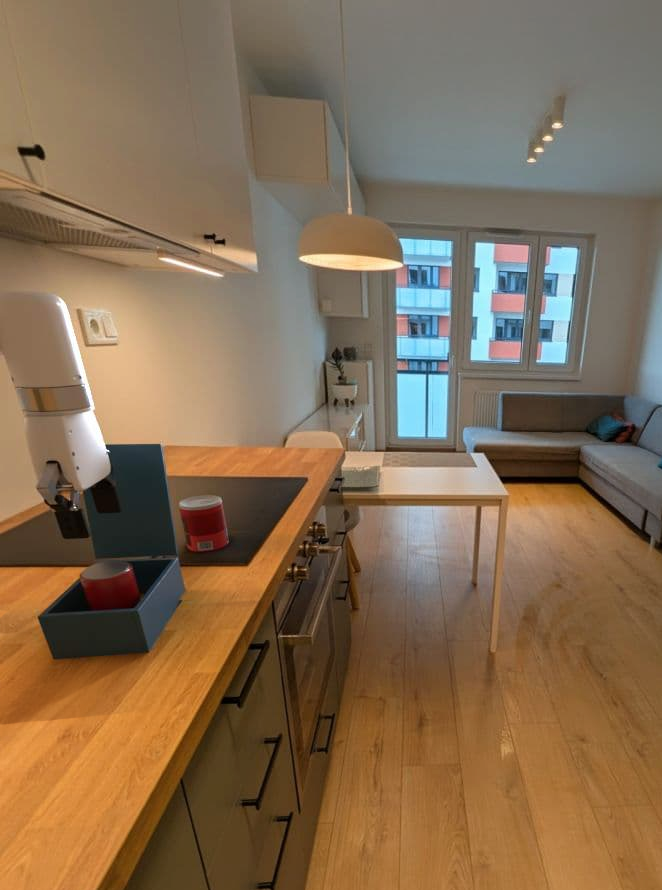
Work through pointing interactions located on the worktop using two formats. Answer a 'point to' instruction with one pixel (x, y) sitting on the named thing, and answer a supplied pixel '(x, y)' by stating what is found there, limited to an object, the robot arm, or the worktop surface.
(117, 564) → the can
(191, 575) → the worktop surface
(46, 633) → the open box
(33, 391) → the robot arm
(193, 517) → the canned food
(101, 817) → the worktop surface
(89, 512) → the lid
